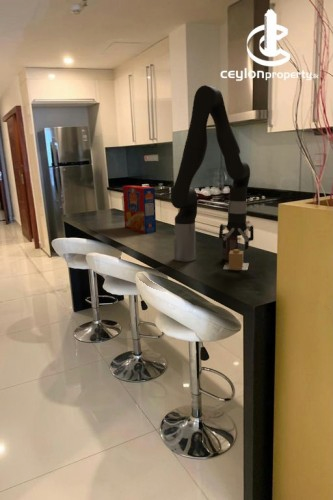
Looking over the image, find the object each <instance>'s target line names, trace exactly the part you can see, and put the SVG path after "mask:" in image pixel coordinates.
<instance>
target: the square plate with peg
mask: <svg viewBox="0 0 333 500" xmlns="http://www.w3.org/2000/svg"><path fill="white" fill-rule="evenodd" d="M249 264H250V263H249V262H243V267H242V268H232V267H229V261H225V264H224V265H223V268H222V270H223V271H224V270H227V271H243V272H245V271H247V272H248V268H249Z"/></svg>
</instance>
